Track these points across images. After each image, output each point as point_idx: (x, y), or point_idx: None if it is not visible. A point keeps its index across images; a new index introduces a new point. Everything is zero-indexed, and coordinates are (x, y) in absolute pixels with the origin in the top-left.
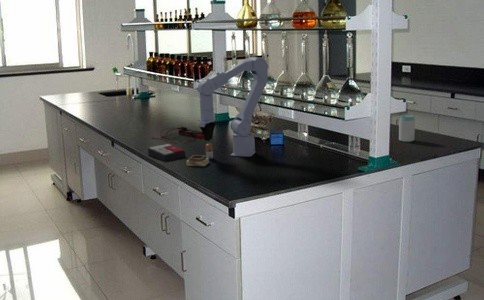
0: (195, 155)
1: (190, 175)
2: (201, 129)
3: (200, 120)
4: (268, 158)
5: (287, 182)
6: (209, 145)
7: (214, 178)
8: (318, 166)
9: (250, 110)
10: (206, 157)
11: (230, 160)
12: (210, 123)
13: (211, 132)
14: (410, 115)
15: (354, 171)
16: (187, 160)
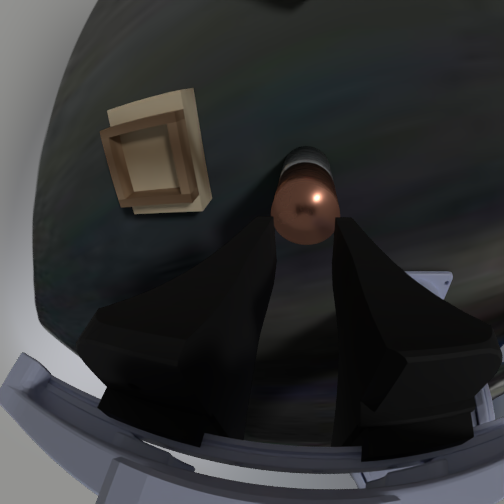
0: (168, 132)
1: (49, 204)
2: (145, 301)
3: (63, 467)
4: (331, 377)
5: None
6: (276, 227)
7: (73, 280)
8: (267, 426)
9: None
10: (288, 156)
11: (287, 286)
12: (350, 446)
13: (341, 324)
14: None
15: (250, 440)
16: (116, 110)
